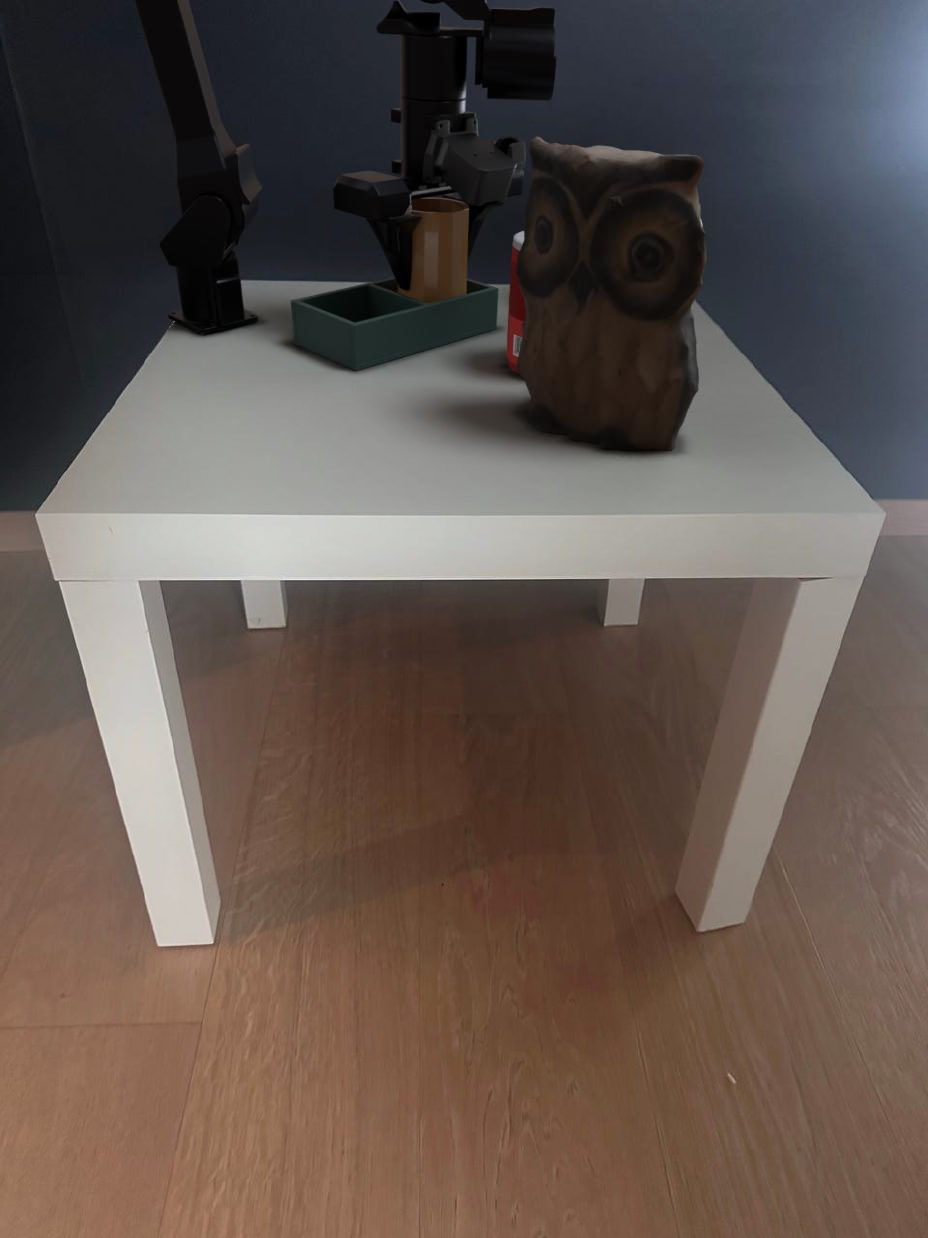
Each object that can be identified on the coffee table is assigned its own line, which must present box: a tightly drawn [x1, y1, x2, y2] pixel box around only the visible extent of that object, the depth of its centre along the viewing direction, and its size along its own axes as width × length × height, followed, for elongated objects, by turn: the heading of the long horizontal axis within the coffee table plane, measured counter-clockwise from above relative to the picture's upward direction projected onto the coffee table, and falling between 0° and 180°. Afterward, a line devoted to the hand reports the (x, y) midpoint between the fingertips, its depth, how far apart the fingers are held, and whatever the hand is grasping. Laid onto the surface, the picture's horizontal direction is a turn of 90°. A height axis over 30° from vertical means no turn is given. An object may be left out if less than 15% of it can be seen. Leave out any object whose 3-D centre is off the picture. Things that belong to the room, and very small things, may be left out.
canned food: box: [505, 230, 526, 375], centre depth 80 cm, size 8×8×11 cm
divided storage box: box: [290, 276, 499, 371], centre depth 87 cm, size 9×18×4 cm, turn 134°
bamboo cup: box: [398, 197, 469, 304], centre depth 87 cm, size 7×7×9 cm
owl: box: [516, 136, 707, 452], centre depth 67 cm, size 13×13×20 cm
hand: (431, 282), depth 89 cm, fingers closed on bamboo cup, 6 cm apart
